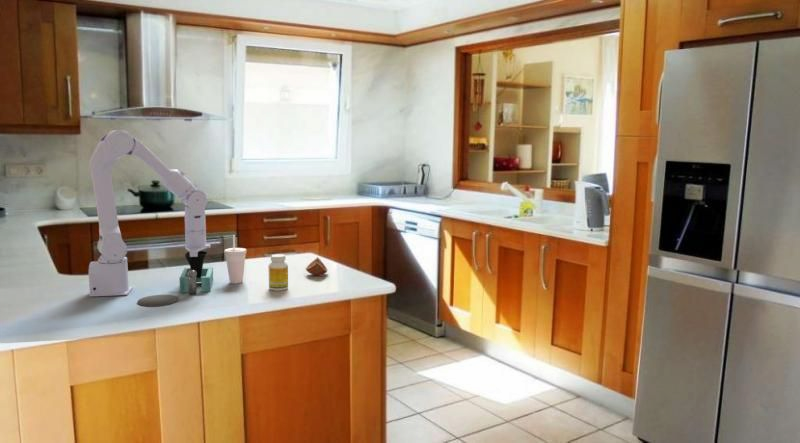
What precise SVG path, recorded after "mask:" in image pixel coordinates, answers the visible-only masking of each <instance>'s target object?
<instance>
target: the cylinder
mask: <svg viewBox="0 0 800 443" xmlns="http://www.w3.org/2000/svg"><path fill="white" fill-rule="evenodd" d="M196 276H197V272H196V271H195V270H190V271H189V272H188V278H189V292H188V294H189V295H191V296H194V295H195V296H196V295H197V293H198V292H197V282H196Z"/></svg>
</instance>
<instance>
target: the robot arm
mask: <svg viewBox="0 0 800 443" xmlns="http://www.w3.org/2000/svg"><path fill="white" fill-rule="evenodd" d="M125 155H128V156H131V157H135V158H138V159H139V160H141V161H142V162H143V163H144V164H145V165H147V166H148V168H150V169H151V170H152V171H154V172H155V173H156V174H157V175H159V177H161V184H162V185H163V186H164V187H165V188H166V189H167V190H168V191H169V192H170V193H172V195H174V196H175V197H176V198H177V199H178V200H181V203H182V205H184V235H185V238H184V239H185V240H184V241H185V245H184V249H185V250H187V251H186V253H185V254H184V256H185V258H186V260H187V262H188V265H189V268H191V270H195V271H196V272H197V276H196V277H201V273H202V268H204V262H205V257H206V255H207V253H208V250H206V249H210V248H211V244H208V243H207V225H206V223H207V222H206V221H207V220H206V206H207V205H208V201H209V199H208V198H207V195H206V193H205V192H204V191H202V190H200V189H199V188H197V187H198V185H197V184H196V183H195V182H194V183H193V182H192V181H191V180H189V179H188V178H187V177H186V176H185V174H186V173H185V172H184V171H183V170H178V169H176V168H175V169H174V168H173V169H171V168H169V167H168V166H167V165H166V163H164V162H163V161H162V160H161V159H160V158H159V157H158V156H157V155H156V154H154V153H153V151H151V150H150V149H149V148H148V146H146V145H145V144H144V143H143V142H141V141H140V140H139V139H137V138H135V137H133V136H132V134H130V133H129V132H128V131H125V130H123V129H122V130H121V129H120V130H118V129H111V130H110V131H108V132H106V133H105V134H104V135H103V136H102V137H101V138H100V139H99V141H98V143H97V145H96V147H95V148H94V151H93V153H92V155H91V157H90V158H89V167H90V168H89V169H90V173H91V180H92V185H93V186H92V187H93V193H94V200H95V206H96V212H97V219H98V220H97V221H98V227H99V228H98V232H99V238H98V241H97V245H96V246H97V247H96V248H97V250H98V253H100V254H101V255H100V256H99V257H98V258H97V261H90V262H89V265H88V286H89V294H88V296H89V297H110V296H127V295H128V294H129V293H130V292H131V290H132V289H133V286H131V285H129V269H128V268H129V267H128V266H129V265H128V257H127V256H126V255H127V254H128V246H127V245H126V243H125V242H124V240H123V237H122V233H121V230H120V226H119V218H118V212H117V206H116V198H115V191H114V186H113V178H112V170H111V167H112V166H113V165H114V164H115V163H116V162H117V161H118V160H119V159H120V158H121V157H123V156H125Z"/></svg>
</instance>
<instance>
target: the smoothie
mask: <svg viewBox="0 0 800 443" xmlns="http://www.w3.org/2000/svg"><path fill="white" fill-rule="evenodd" d="M223 251H224V255H225V260H226V268H227V272H228V279H229V280H228V281H229V283H230V284H234V283H235V284H241V282H242V283H243V282H244V272H245V263H246V255H247V248H244V247H236V235H235V234H232V247H230V248H226V249H224V250H223Z"/></svg>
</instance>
